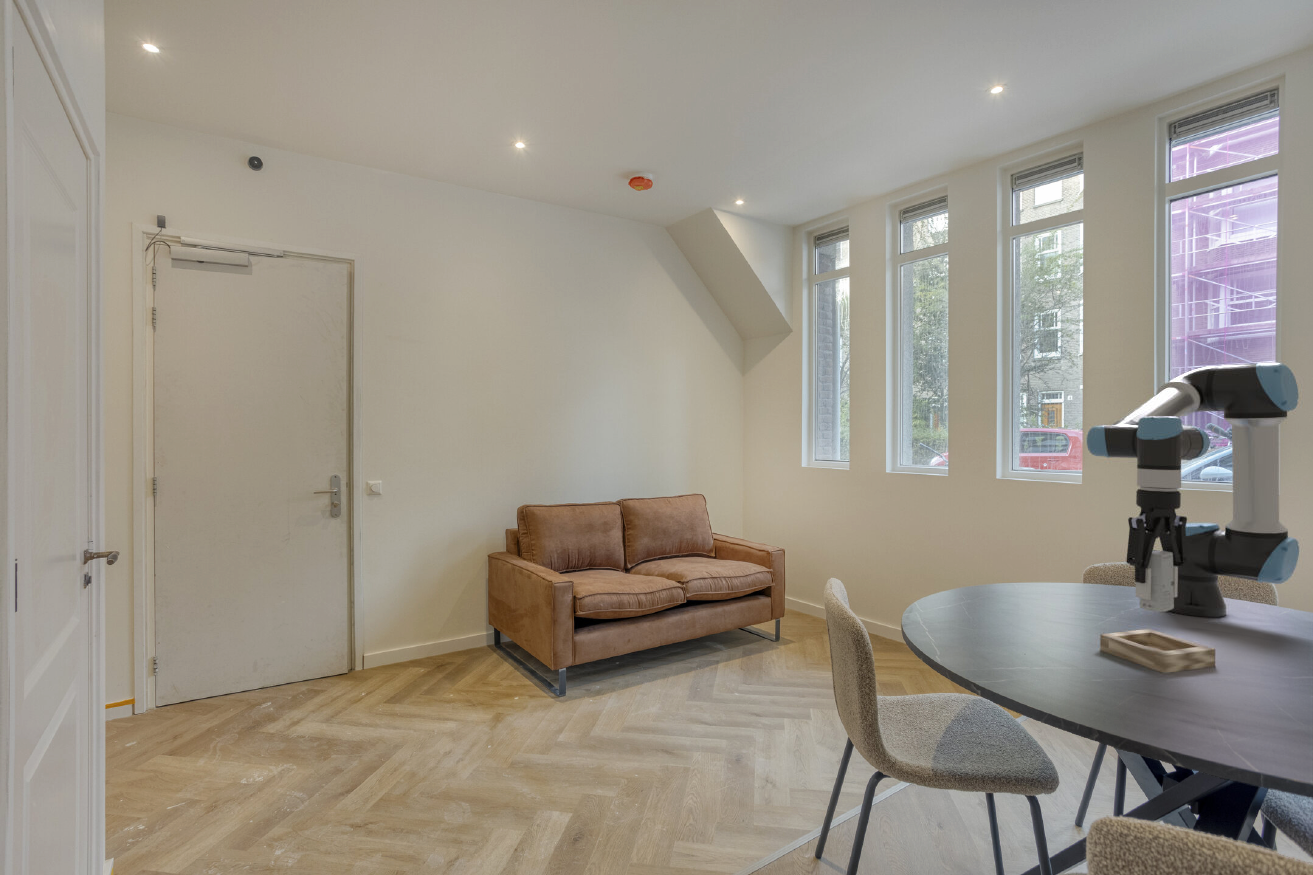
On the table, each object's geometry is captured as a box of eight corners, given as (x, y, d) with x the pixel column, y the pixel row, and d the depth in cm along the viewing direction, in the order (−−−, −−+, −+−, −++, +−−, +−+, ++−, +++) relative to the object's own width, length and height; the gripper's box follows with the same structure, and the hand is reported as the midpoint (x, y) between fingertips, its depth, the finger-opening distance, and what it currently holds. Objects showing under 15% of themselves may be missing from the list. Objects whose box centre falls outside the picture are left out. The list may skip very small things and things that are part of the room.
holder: (1148, 644, 150) (1148, 628, 150) (1215, 665, 137) (1215, 649, 137) (1100, 650, 147) (1100, 634, 147) (1164, 673, 133) (1164, 655, 133)
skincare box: (1162, 613, 138) (1163, 555, 138) (1137, 608, 142) (1138, 551, 141) (1175, 608, 141) (1175, 551, 141) (1150, 603, 145) (1150, 548, 145)
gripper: (1174, 486, 147) (1172, 589, 148) (1105, 488, 142) (1104, 595, 142) (1211, 489, 140) (1209, 597, 141) (1140, 492, 135) (1138, 604, 135)
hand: (1156, 596), depth 141 cm, fingers closed on skincare box, 7 cm apart
